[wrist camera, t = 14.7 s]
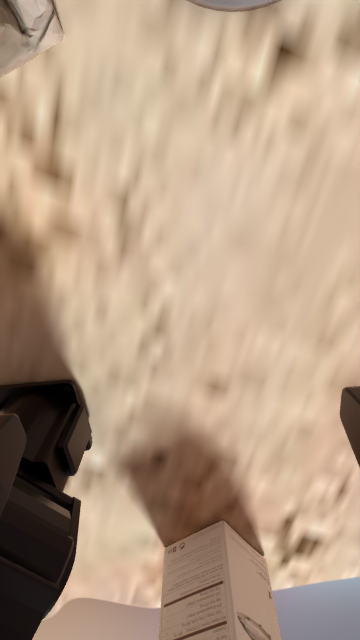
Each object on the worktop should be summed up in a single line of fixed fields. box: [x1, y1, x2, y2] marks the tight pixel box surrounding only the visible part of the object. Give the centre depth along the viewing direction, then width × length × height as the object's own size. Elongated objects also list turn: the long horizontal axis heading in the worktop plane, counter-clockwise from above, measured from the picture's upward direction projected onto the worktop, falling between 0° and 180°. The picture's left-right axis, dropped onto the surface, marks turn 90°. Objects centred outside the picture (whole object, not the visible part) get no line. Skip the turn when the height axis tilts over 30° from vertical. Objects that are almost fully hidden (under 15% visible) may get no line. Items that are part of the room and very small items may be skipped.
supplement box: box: [159, 521, 281, 640], centre depth 27 cm, size 7×7×13 cm
